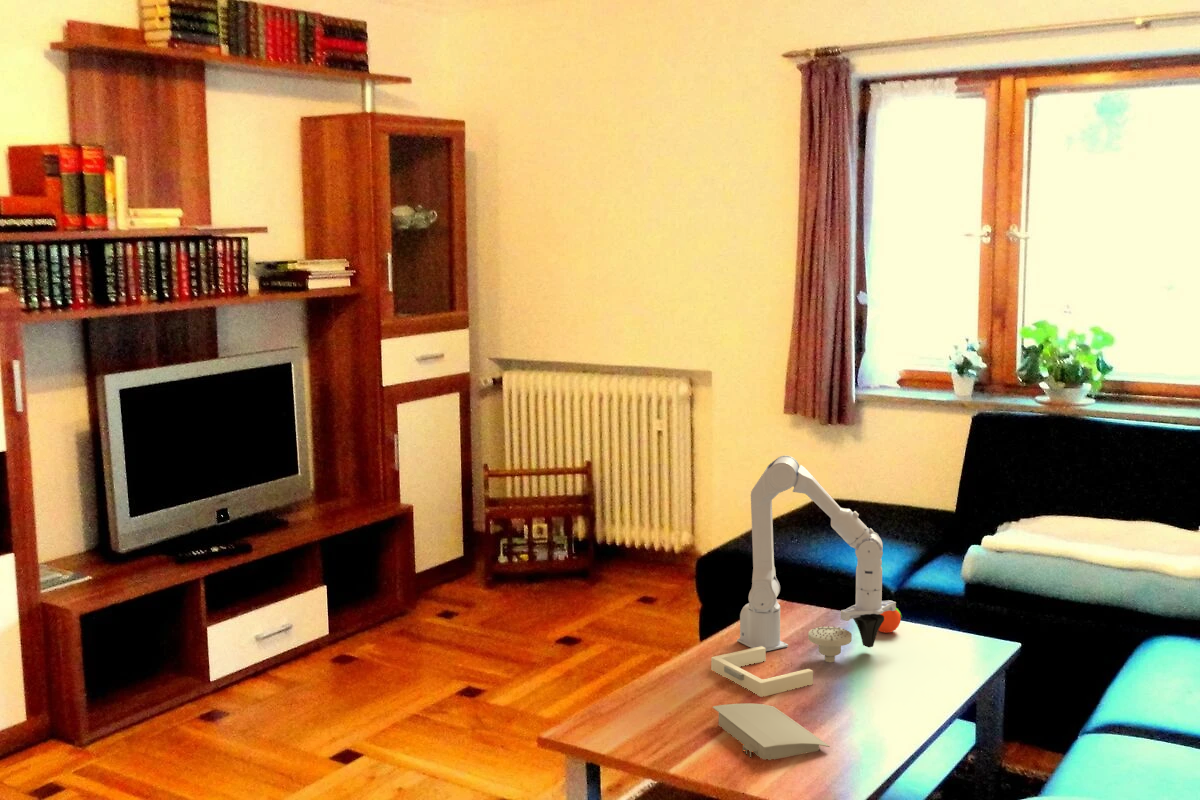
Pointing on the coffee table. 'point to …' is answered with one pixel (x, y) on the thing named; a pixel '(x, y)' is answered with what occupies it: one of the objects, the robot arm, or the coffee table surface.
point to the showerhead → (830, 640)
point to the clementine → (890, 621)
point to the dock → (730, 669)
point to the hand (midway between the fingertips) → (868, 645)
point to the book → (766, 730)
